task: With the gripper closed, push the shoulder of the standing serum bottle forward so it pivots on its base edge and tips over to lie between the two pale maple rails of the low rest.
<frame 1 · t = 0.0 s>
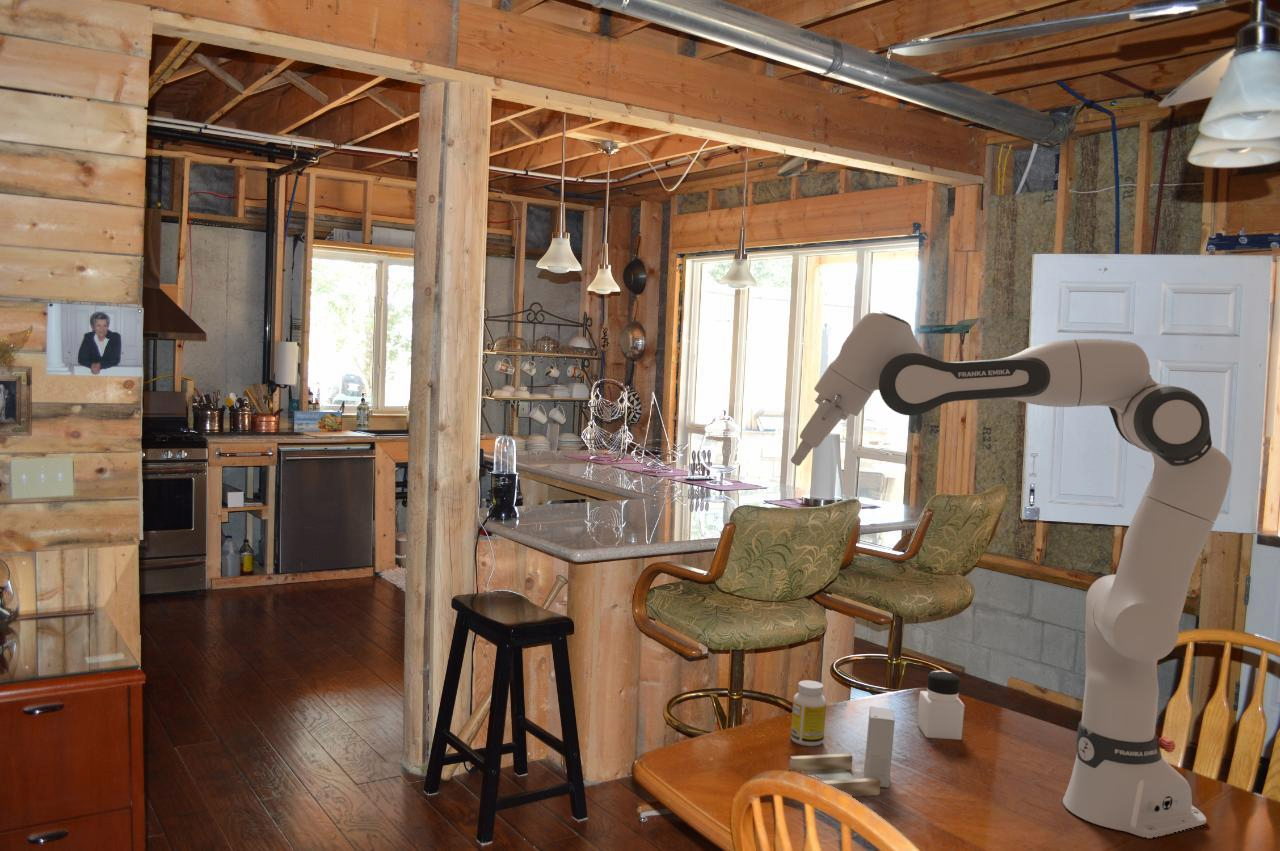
hand: (796, 460, 180), 54 cm above the table, tool tilted 30°, fingers open, 8 cm apart
skincare box: (876, 780, 179), on the table
pill bottle: (806, 741, 194), on the table
rest: (833, 782, 176), on the table
medicine bottle: (938, 733, 203), on the table
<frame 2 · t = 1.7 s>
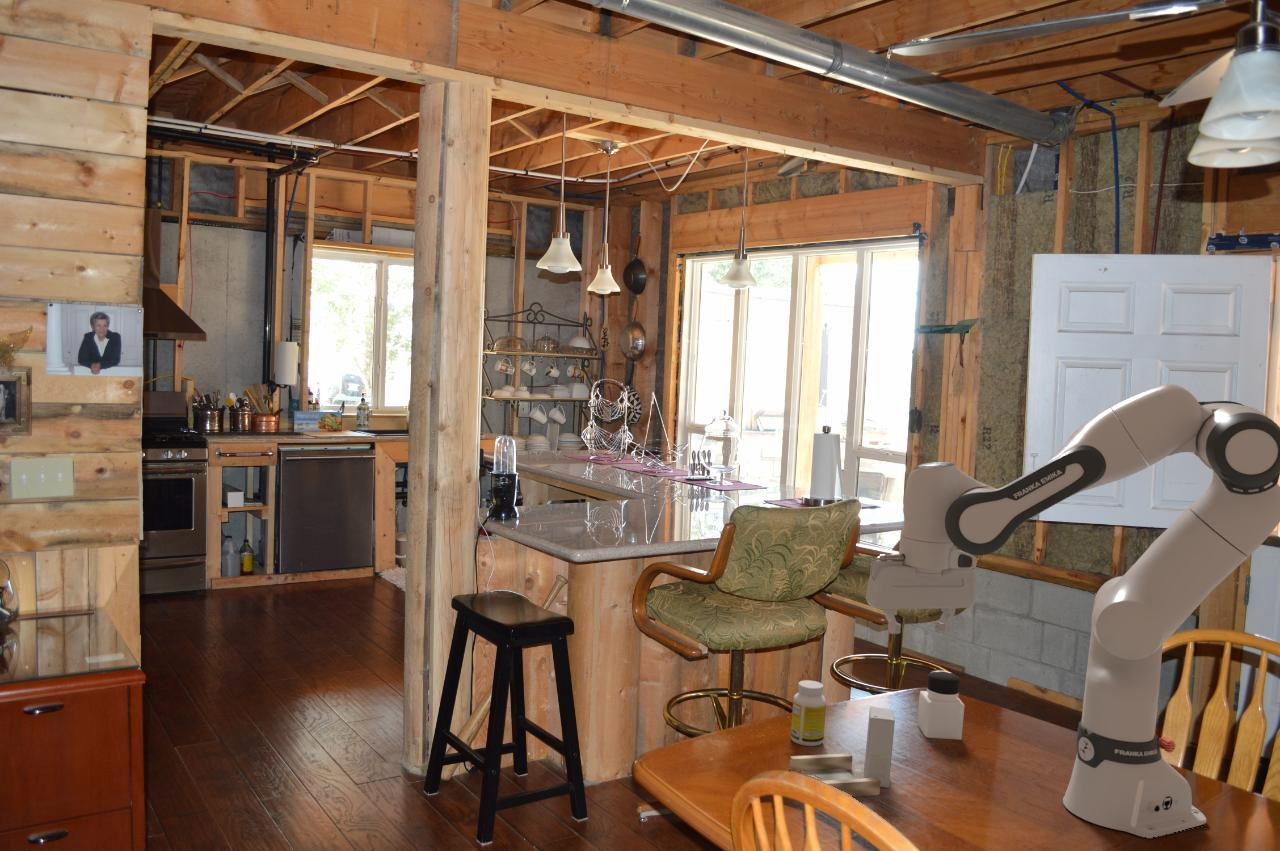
hand: (917, 632, 178), 26 cm above the table, tool pointing down, fingers open, 8 cm apart
nothing on the table moved.
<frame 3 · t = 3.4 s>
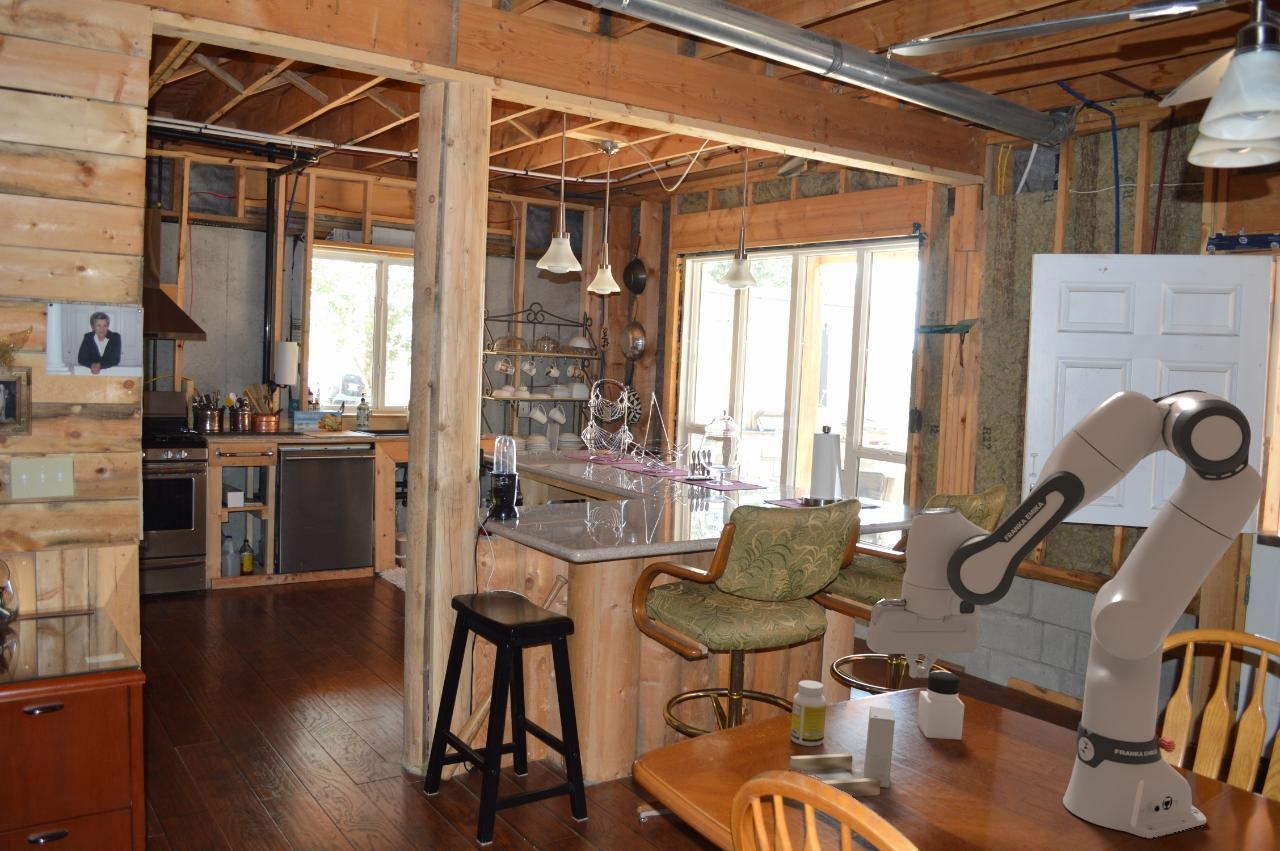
hand: (918, 676, 179), 18 cm above the table, tool pointing down, fingers closed
nothing on the table moved.
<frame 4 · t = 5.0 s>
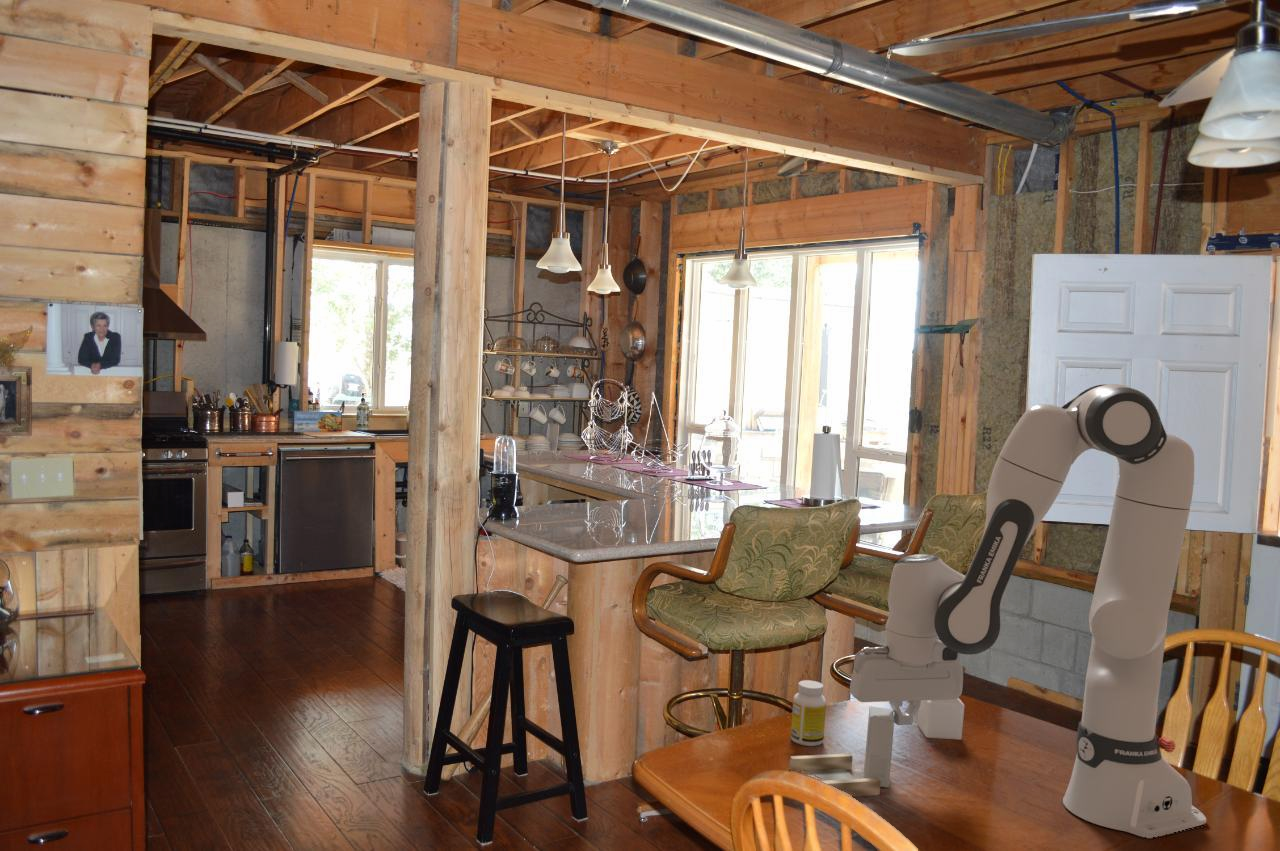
hand: (902, 723, 179), 10 cm above the table, tool pointing down, fingers closed
skincare box: (876, 780, 179), on the table, touching gripper
everything else where it was.
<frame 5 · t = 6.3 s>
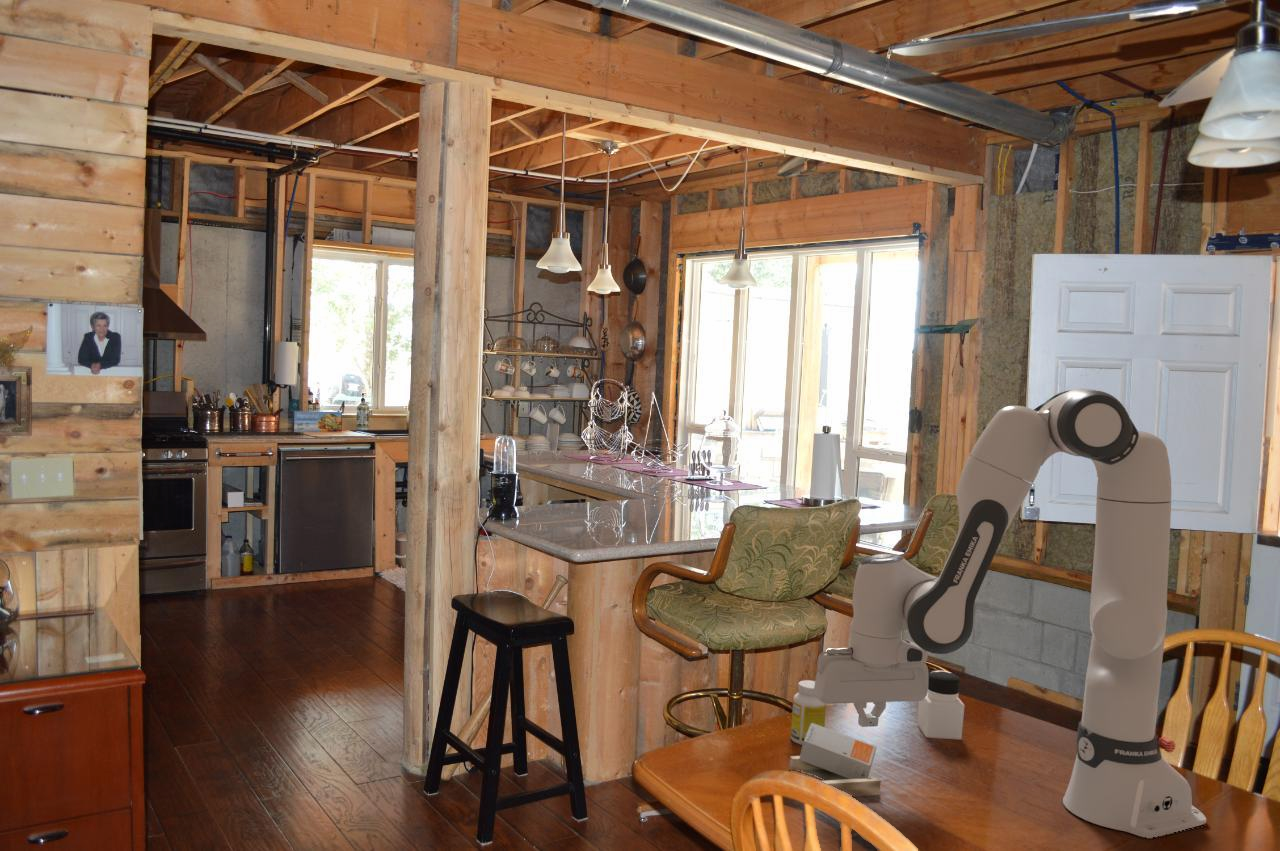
hand: (867, 725, 177), 10 cm above the table, tool pointing down, fingers closed
skincare box: (872, 765, 177), point 3 cm above the table, touching rest
everything else where it was.
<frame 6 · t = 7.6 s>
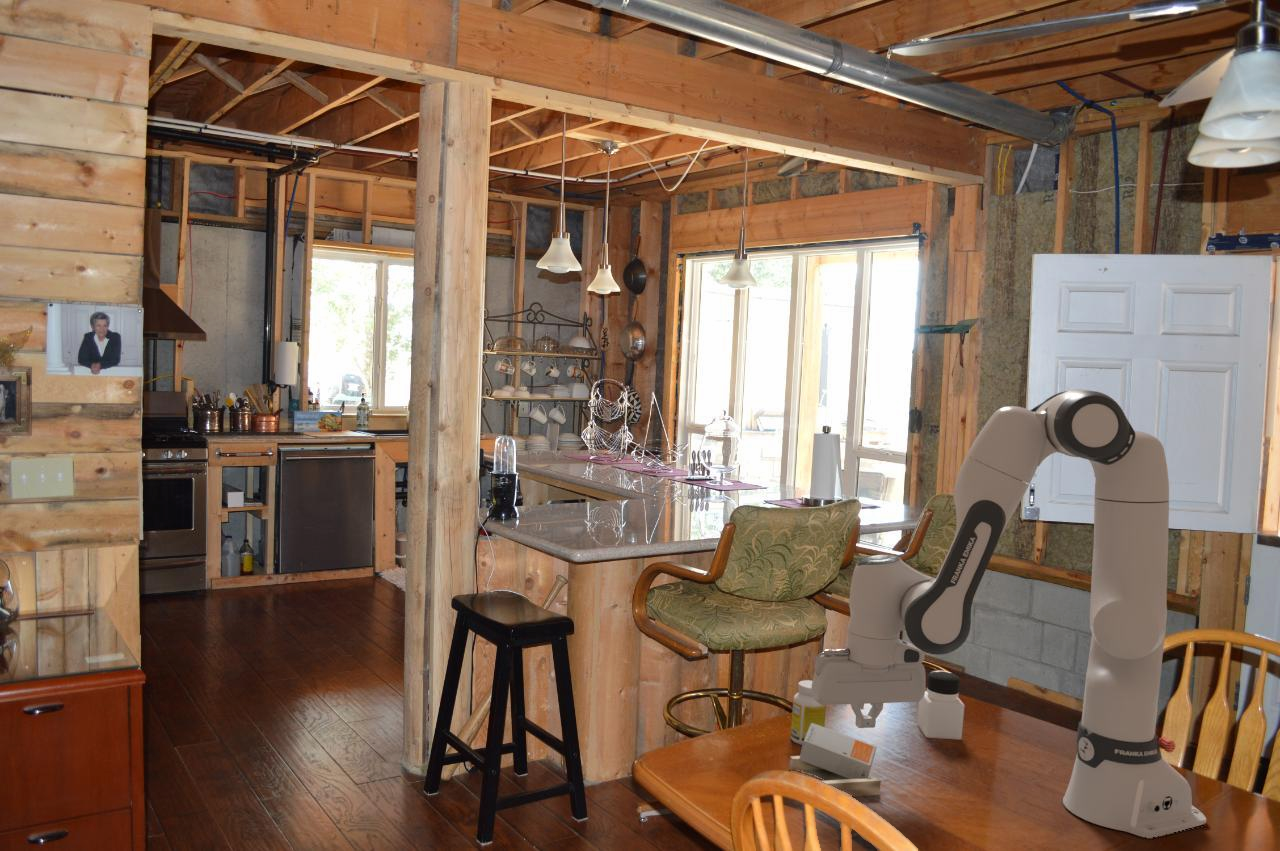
hand: (865, 726, 177), 10 cm above the table, tool pointing down, fingers closed
nothing on the table moved.
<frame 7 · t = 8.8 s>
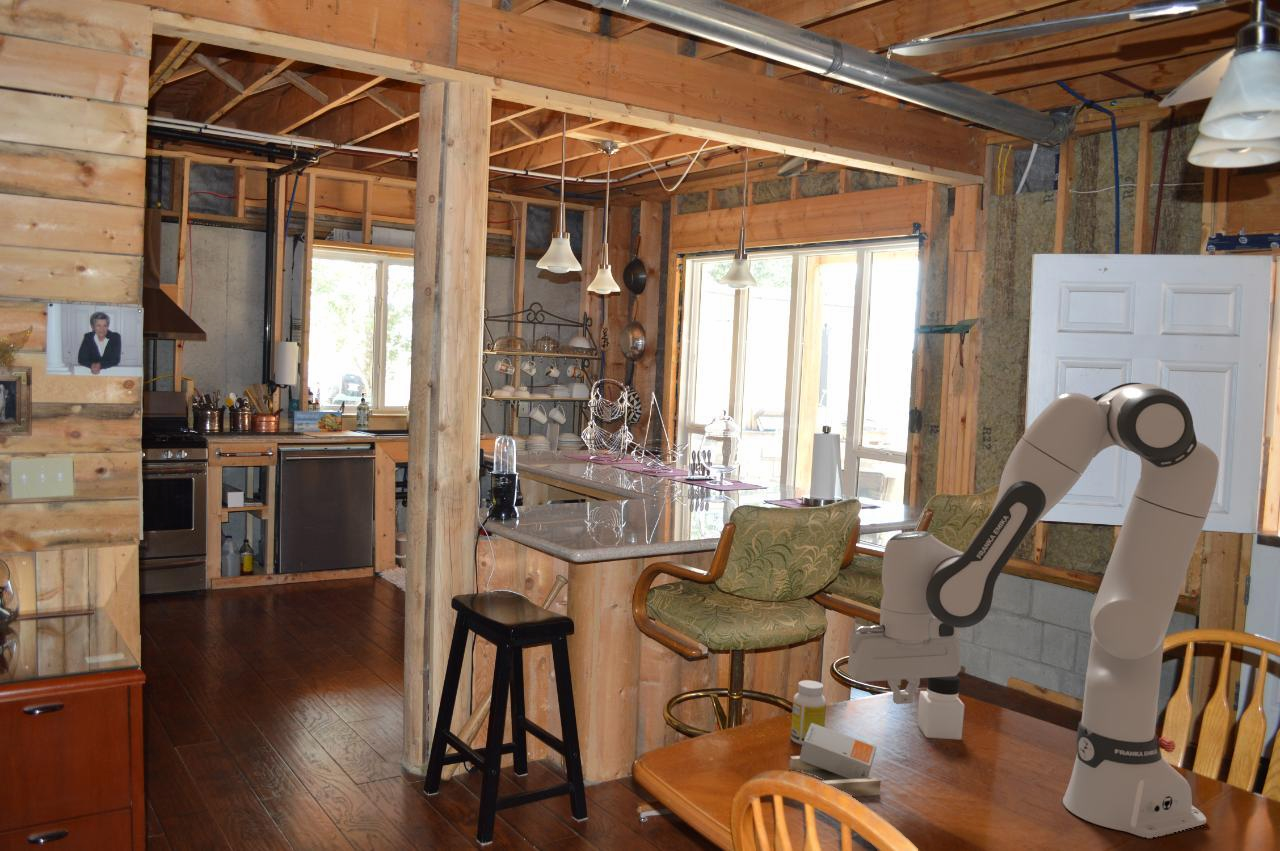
hand: (902, 702, 178), 14 cm above the table, tool pointing down, fingers closed
nothing on the table moved.
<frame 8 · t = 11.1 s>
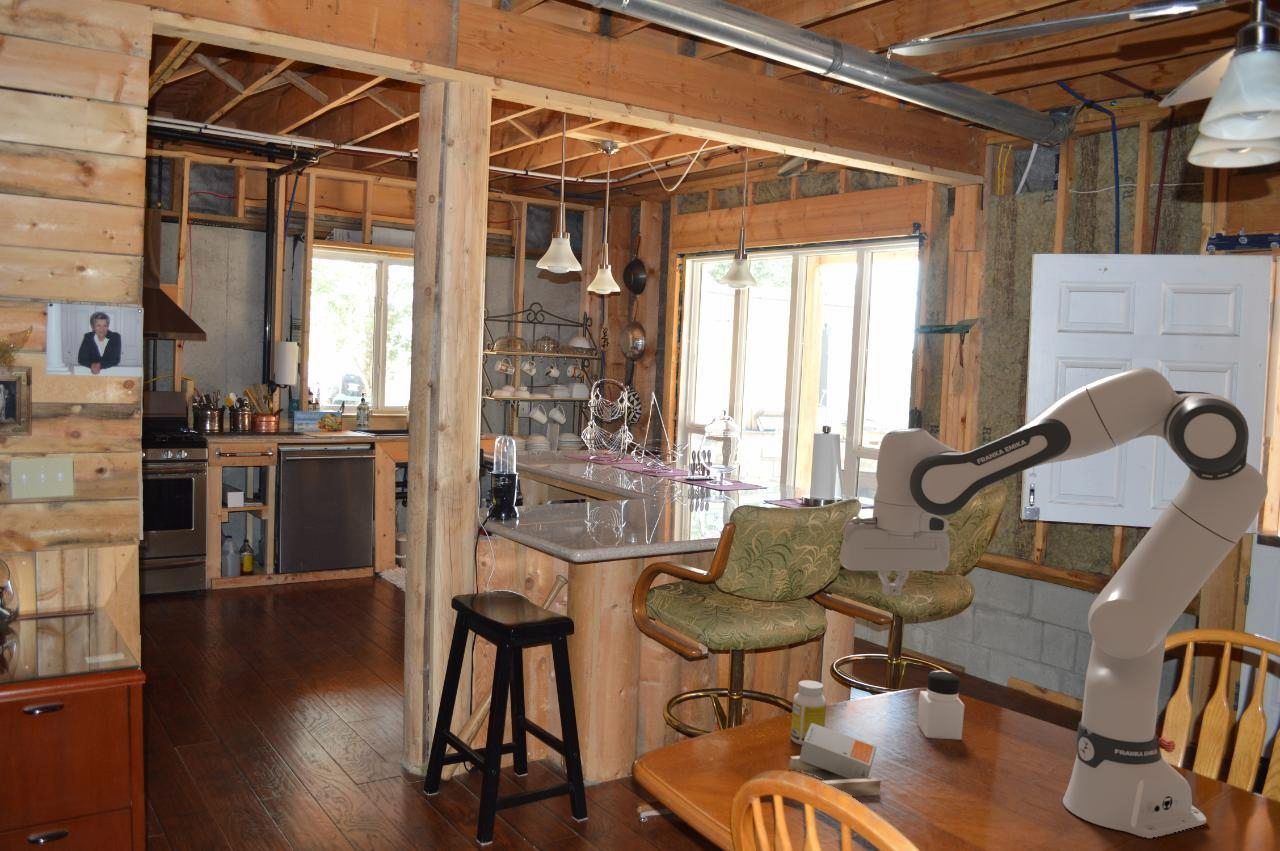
hand: (891, 594, 184), 31 cm above the table, tool pointing down, fingers closed
nothing on the table moved.
at the end: skincare box tilted 80°; skincare box inside the target area (5.2 cm from its centre), point 2.9 cm above the table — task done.
